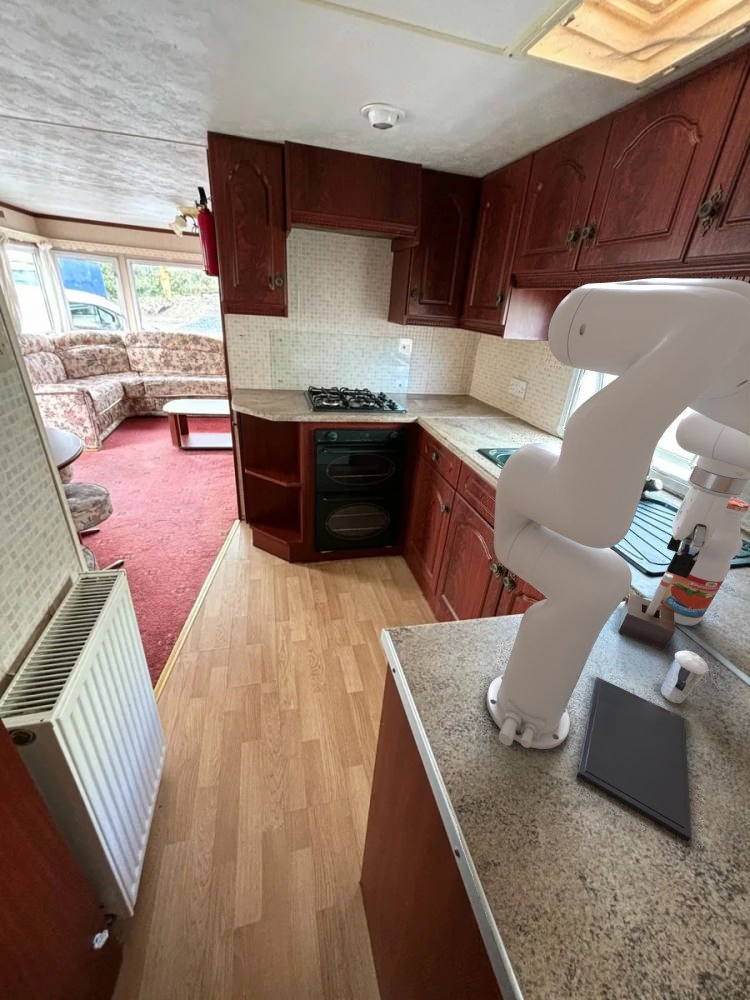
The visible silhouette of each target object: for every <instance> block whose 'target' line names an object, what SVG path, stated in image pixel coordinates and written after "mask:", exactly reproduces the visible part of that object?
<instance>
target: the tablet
mask: <svg viewBox="0 0 750 1000" xmlns="http://www.w3.org/2000/svg"><path fill="white" fill-rule="evenodd" d="M685 719H686V718H685V717H683V716H681V715H679V714H677V713H675V712H672V711H670V710H669V709H666V708H664V707H662V706H661V705H657V704H655V703H653V702H651V701H649V700H647V699H645V698H643V697H641V696H638V695H636V694H635V693H632V692H630V691H628V690H626V689H625V688H622V687H620V686H618V685H615V684H614V683H611V682H609V681H608V680H605V679H603V678H601V677H598V676H596V678H595V679H594V683H593V689H592V694H591V698H590V704H589V710H588V714H587V720H586V725H585V731H584V734H583V740H582V746H581V750H580V755H579V756H580V757H579V761H578V766H577V771H576V777H577V778H578V779H581V780H582V781H584V782H586V783H587V784H589V785H590V786H592V787H594V788H596V789H598V790H599V791H601V792H603V793H604V794H606V795H607V796H609V797H611V798H612V799H614V800H616V801H618V802H619V803H621V804H623V805H624V806H625V807H628V808H629V809H631V810H632V811H635V812H636V813H637V814H639V815H641V816H643V817H644V818H647V819H648V820H649V821H651V822H653V823H654V824H656V825H658V826H660V827H662V828H663V829H665V830H667V831H668V832H670V833H672V834H673V835H675V836H677V837H679V838H680V839H682V840H684V841H685V842H687V843H688V842H690V841H691V839H692V831H691V828H692V826H691V812H690V811H691V810H690V795H689V794H690V791H689V776H688V775H689V774H688V759H687V758H688V757H687V756H688V755H687V738H686V737H687V736H686V720H685Z"/></svg>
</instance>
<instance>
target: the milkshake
mask: <svg viewBox="0 0 750 1000" xmlns="http://www.w3.org/2000/svg"><path fill="white" fill-rule="evenodd" d="M716 669H717V668H716V667H715V668H712V669H710V670H709V666H708V664H707V662H706V661H705V659H704V658H703V657H701V656H700V655H698V654H697V653H695V652H693V651H691V650H688V649H687V650H684V649H683V650H679V651H677V652H675V654H674V656H673V658H672V661H671V664H670V666H669V668H668V671H667V674H666V676H665V678H664V681H663V683H662V685H661V688H660V692H661V695H662V696H663V698H665V699H666V700H668V701H670V702H671V703H673V704H682V703H683V701H684V700H685V699H686V698H687V696H688V695H689V694H690V693H691V692H692V690H693V689H694V688H695V687H696V685H697V684H698V683H699V682H701V680H702V679H703V678H704V677H705V675H707V673H709V672H712V671H714V670H716Z"/></svg>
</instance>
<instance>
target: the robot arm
mask: <svg viewBox="0 0 750 1000" xmlns="http://www.w3.org/2000/svg"><path fill="white" fill-rule="evenodd" d="M547 333H548V335H547V338H548V339H547V340H548V346H549V350H550V352H551V354H552V356H553V357H554V358H555V359H556V360H557V361H558V362H559V363H561V364H563V365H564V366H566V367H567V366H568V367H571V368H573V369H574V368H575V369H579V370H584V371H590V372H595V373H600V374H606V375H611V376H617V377H616V378H615V379H614V380H612V381H611V382H609V383H608V384H607V385H605V386H604V387H602V388H601V389H599V390H598V391H596V393H594V394H593V395H591V396H590V397H589V398H588V399H587V400H585V401H584V402H582V404H580V406H578V407H577V408H576V409H575V411H574V412H573V413H572V414H571V415H570V417H569V418H568V420H567V422H566V425H565V428H564V432H563V438H562V442H561V446H560V447H556V446H553V445H551V444H547V443H541V442H533V443H528V444H525V445H522V446H520V447H519V448H517V449H516V450H515V451H514V452H512V453H511V454H510V456H508V458H507V460H506V461H505V463H504V464H503V467H502V469H501V470H500V473H499V476H498V479H497V483H496V488H495V500H494V502H495V503H494V520H493V521H494V525H493V550H494V554H495V557H496V559H497V560H498V562H499V563H500V564H501V565H502V567H504V568H505V569H507V570H508V571H510V572H511V573H513V574H514V575H515V576H516V577H519V578H520V579H521V580H522V581H524V582H526V583H527V584H528V585H530V586H532V587H533V588H534V589H535V590H537V591H538V592H539V593H541V594H542V595H543V596H544V597H545V599H542V600H539V601H536V602H535V603H533V604H532V605H530V606H529V607H528V608H527V609H526V610H525V612H524V613H523V614H522V615H523V616H522V617H521V620H520V624H519V627H518V630H517V633H516V636H515V639H514V643H513V645H512V649H511V652H510V654H509V658H508V660H507V664H506V667H505V670H504V672H503V674H501V675H498V676H497V677H496V678H494V679H493V680H492V681H491V682H490V684H489V686H488V689H487V691H486V698H485V699H486V706H487V710H488V713H489V714H490V716H491V718H492V720H493V721H494V723H495V724H496V726H497V727H498V728H499V729H500V731H499V734H498V740H499V741H500V743H502V745H505V746H506V747H507V746H511V745H513V742H514V741H515V742H517V743H519V744H520V745H521V746H522V747H524V748H525V749H529V748H533V749H538V750H547V749H553V748H556V747H558V746H560V745H561V744H562V743H564V742H565V740H566V738H567V737H568V735H569V732H570V728H571V718H570V714H569V712H568V708H567V707H568V704H569V702H570V700H571V697H572V695H573V693H574V691H575V688H576V686H577V684H578V682H579V679H580V677H581V675H582V673H583V671H584V668H585V666H586V663H587V662H588V659H589V657H590V655H591V653H592V650H593V648H594V646H595V645H596V642H597V640H598V638H599V637H600V634H601V633H602V630H603V628H604V627H605V626H606V624H607V622H608V621H609V619H610V618H611V617H612V615H613V614H614V612H615V611H616V609H617V608H618V607H619V606H620V605H621V603H622V602H623V600H624V599H625V598H626V596H627V595H628V592H629V590H630V587H631V586H632V581H633V574H632V571H631V568H630V566H629V565H628V563H627V561H626V560H625V559H624V558H623V557H622V556H621V555H620V554H618V553H617V552H616V551H614V550H613V549H611V548H612V547H614V546H617V544H619V543H620V542H622V541H623V540H624V539H625V537H626V536H627V534H628V533H629V531H630V529H631V527H632V524H633V522H634V519H635V517H636V514H637V511H638V508H639V504H640V500H641V497H642V494H643V490H644V487H645V484H646V481H647V476H648V473H649V471H650V466H651V463H652V460H653V458H654V454H655V452H656V448H657V446H658V443H659V442H660V440H661V439H662V437H663V435H664V434H665V432H666V431H667V430H668V429H669V427H670V426H671V425H672V424H673V423H674V422H675V421H676V419H677V418H679V417H680V415H682V413H684V412H685V410H686V409H688V408H689V409H691V410H692V411H690V412H688V414H686V415H685V416H684V417H682V419H681V420H680V422H679V423H678V425H677V427H676V431H675V440H676V444H677V445H678V446H679V447H680V449H682V450H684V451H686V452H688V453H690V454H693V455H696V456H698V458H697V461H696V462H695V465H694V467H693V469H692V471H691V473H690V475H689V477H688V480H687V483H688V484H689V485H690V487H689V488H688V490H687V492H686V494H685V495H684V497H683V500H682V502H681V503H680V505H679V507H678V509H677V511H676V513H675V515H674V517H673V519H672V522H671V531H672V533H671V534H672V535H671V538H670V539H669V542H668V543H667V546H666V549H667V550H668V551H670V552H671V551H672V552H674V553H673V555H674V556H673V555H672V557H673V558H671V560H670V562H669V564H668V566H667V568H666V570H667V571H668V572H669V573H672V574H675V575H678V576H681V577H684V578H687V577H688V576H689V574H690V572H691V570H692V569H693V567H694V565H695V563H696V561H697V558H698V555H699V553H700V549H701V547H705V546H707V544H708V543H709V541H710V539H711V538H712V536H713V534H714V532H715V530H716V528H717V526H718V524H719V522H720V520H721V518H722V516H723V514H724V512H725V510H726V507H727V505H728V503H729V501H730V499H731V497H733V498H739V497H741V495H742V494H743V492H744V490H745V488H746V486H747V484H748V482H749V481H750V283H749V282H748V281H747V282H746V281H744V280H738V279H731V278H679V277H678V278H674V277H673V278H672V277H671V278H670V277H668V278H666V277H664V278H663V277H661V278H660V277H659V278H658V277H657V278H656V277H655V278H644V279H634V280H627V281H626V280H624V281H616V282H615V281H614V282H601V283H599V282H598V283H587V284H584V285H581V286H579V287H577V288H575V289H574V290H572V291H570V292H569V293H568V294H567V295H566V296H565V297H564V298H563V299H562V300H561V301H560V303H559V304H558V305H557V307H556V309H555V310H554V312H553V314H552V316H551V319H550V322H549V326H548V332H547ZM689 546H690V547H689ZM676 552H677V553H676Z"/></svg>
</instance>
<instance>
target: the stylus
mask: <svg viewBox="0 0 750 1000" xmlns="http://www.w3.org/2000/svg"><path fill="white" fill-rule="evenodd" d="M664 574H665V573H664ZM664 574H663V576H664V577H663V576H662V578H663V579H662V578H661V580H660V581H659V584H660V585H659V584H658V586H659V587H658V586H657V588H658V589H657V588H656V590H657V591H656V590H655V592H656V593H655V592H654V594H655V595H654V594H653V596H654V597H653V596H652V598H653V599H652V598H651V600H650V601H651V603H650V605H649V607H648V609H647V611H646V613H645V614H648V615H650V616H654V614H655V612H656V610H657V608H658V606H659V604H660V602H661V600H662V598H663V596H664V594H665V592H666V590H667V588H668V587H669V585H670V583H671V581H672V579H673V576H672V575H670V574H667V573H666V574H665V575H664Z"/></svg>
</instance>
